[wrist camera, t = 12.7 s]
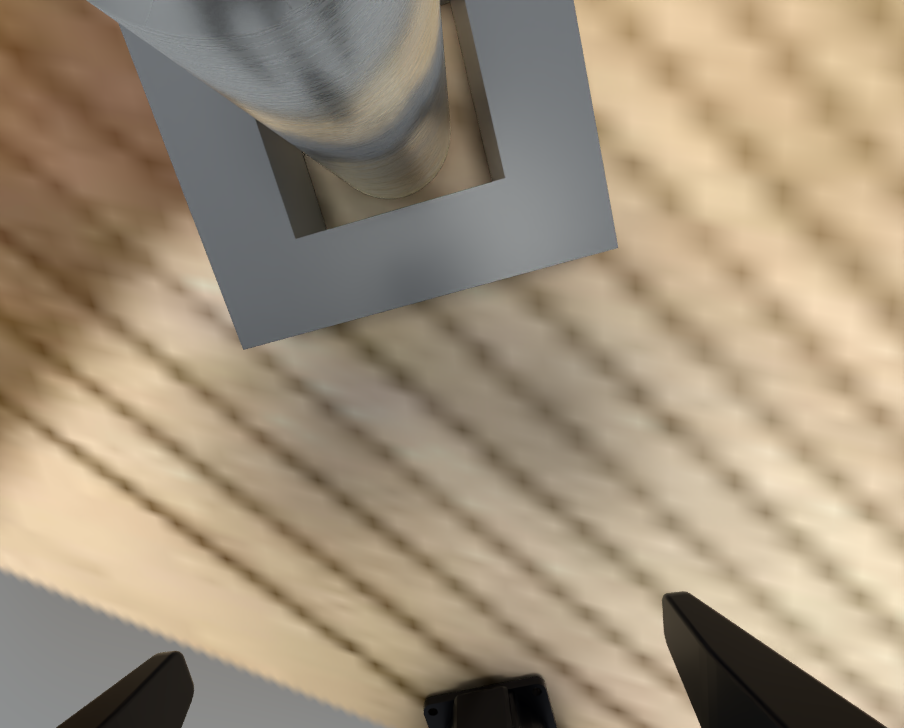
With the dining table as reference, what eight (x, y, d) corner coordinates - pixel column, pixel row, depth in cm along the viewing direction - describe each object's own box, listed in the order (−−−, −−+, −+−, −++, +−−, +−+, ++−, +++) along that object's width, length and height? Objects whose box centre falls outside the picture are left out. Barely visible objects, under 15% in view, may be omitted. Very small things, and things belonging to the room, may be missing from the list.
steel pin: (429, 215, 18) (348, 94, 5) (310, 176, 18) (-85, -51, 5) (467, 83, 17) (481, -486, 4) (340, 40, 16) (-68, -705, 4)
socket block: (584, 251, 18) (618, 247, 14) (288, 331, 19) (243, 349, 15) (510, -122, 15) (527, -254, 11) (168, -4, 16) (76, -88, 12)
